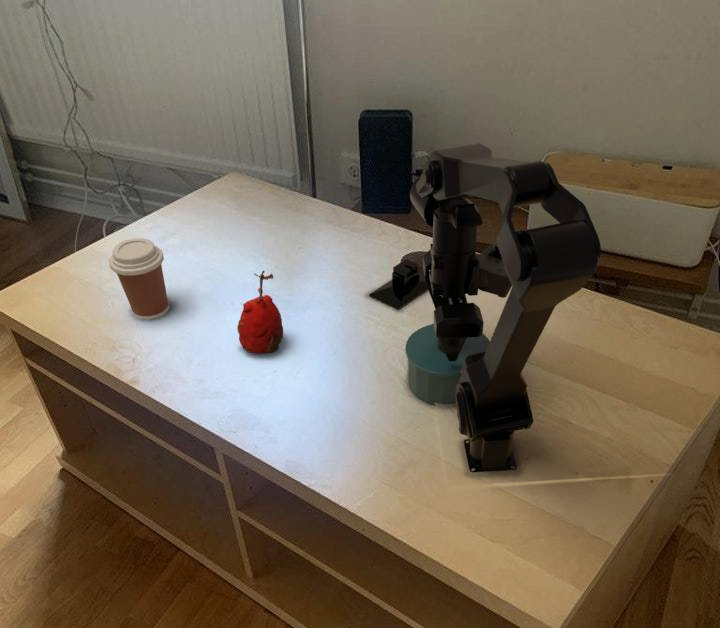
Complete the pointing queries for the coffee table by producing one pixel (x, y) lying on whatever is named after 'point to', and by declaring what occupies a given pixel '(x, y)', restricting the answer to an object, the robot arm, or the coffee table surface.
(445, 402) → the tin
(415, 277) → the build plate
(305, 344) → the coffee table surface
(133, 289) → the coffee cup
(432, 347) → the tin lid
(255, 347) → the red fruit with stem
